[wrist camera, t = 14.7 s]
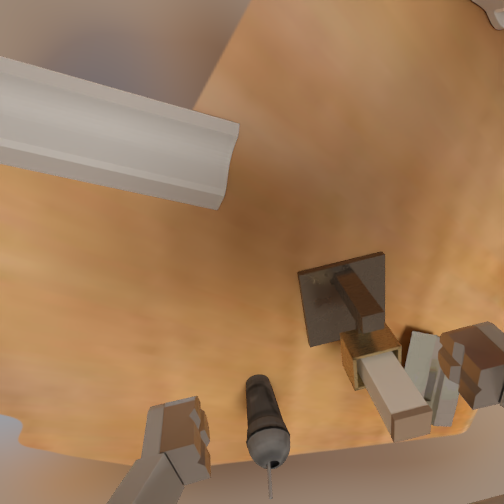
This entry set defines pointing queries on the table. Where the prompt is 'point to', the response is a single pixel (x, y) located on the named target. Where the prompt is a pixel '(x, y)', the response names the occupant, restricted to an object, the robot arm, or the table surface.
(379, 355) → the rail end
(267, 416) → the dark travel mug
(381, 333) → the bracket
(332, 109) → the table surface
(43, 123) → the crown molding
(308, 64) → the table surface
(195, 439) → the robot arm
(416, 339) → the grey grooved block
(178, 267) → the table surface
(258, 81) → the table surface
